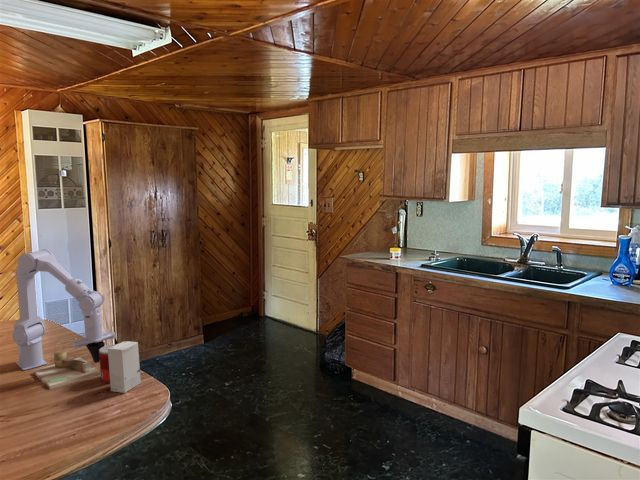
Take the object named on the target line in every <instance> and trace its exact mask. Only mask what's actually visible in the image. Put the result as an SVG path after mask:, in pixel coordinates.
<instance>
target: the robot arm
mask: <svg viewBox="0 0 640 480" xmlns="http://www.w3.org/2000/svg"><path fill="white" fill-rule="evenodd" d="M39 272H45V273H46V272H47V273H49V274H50V275H52V276H53V277H54V278H56V279H57V280H58V281H59V282H61V283H62V284H63V285H64V288H65V289H64V290H65V291H66V292H67V293H68V294H69V295H70V296H71V297H73V298H74V299H75V301H77V302H78V304H77V305H78V306H79V308H80V310H81V313H82V315H83V322H84V335H85V337H84V338H81V339H78V340H76V341H75V340H74V341H72V342H71V344H72V348H73V349H78V348H81V347H86V348H87V350H88V351H89V353H90V356H91V359H92V360H93V361H92V362H93V363H95V364H97V363H100V358H99V349H100V348H102V347H104V346H106V345H105V342H104V341H107V340H110V339H111V340H113V339H116V338H117V335H116V332H115V331H112V332H107V333H104V332H103V331H104V330H103V322H102V308H101V306H102V305H103V303H104V296H103V295H102V293H101V292H99V291H95V290H94V289H93V290H92V289H91V288H90V287H88V285H87V284H85V283H84V281H83V279H80V278H73V276H71V275H70V273H69V272H68V271H67V270H66V269H65V268H64V267H63V266H62V265H61V264H60V263H59V262H58V261H57V258H56V255H55V254H53V253H52V251H50V250H49V249H45V248H44V249H40V250H35V251H33V252H28V253H27V252H26V253H23V254H22V255H20V256H19V257H18V258H17V268H16V271H15V273H16V285H17V299H18V311H19V318H18V320H17V321H16V322H15V323H14V324H13V332H12V339H13V340H12V341H13V342H14V343H15V344H16V345H17V352H18V353H17V354H18V361H16V365H17V366H18V367H19V368H20V369H21V370H22V371H27V370H31V369H34V368H38V367H42V366H44V365H47V364H48V362H47V361H46V360H45V359H44V352H43V343H42V340H43V338H44V337H43V336H44V335H45V333H46V327H45V325H44V322H43V318H42V317H40V316H38V309H37V308H38V306H37V294H36V292H37V291H36V281H35V275H36V274H38V273H39Z"/></svg>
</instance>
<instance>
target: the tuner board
mask: <svg viewBox="0 0 640 480" xmlns="http://www.w3.org/2000/svg"><path fill="white" fill-rule="evenodd" d="M73 359H74V360H79V361H84V362H87V360H85V359H84V358H82V357H81V356H80V357H77V358H73ZM90 369H91V370H90V371H88V372H86V373H84V374H83V373H79V372H81V371H79V370H74V369H69V368H64V367H62V368H56V367H55V363H54V364H50V365H47V366H43V367H40V368H37V369H34V370H33V374H34V375H35V376H36V377H37V378H38V379H39V380H40V381H41V382H42V383H43V384H44V385H45V386H46V387H47V388H48V389H49V390H53V389H56V388H59V387H62V386H66V385H69V384H72V383H76V382H78V381H82V380H85V379H88V378H91V377H94V376H98V375H101V371H100V370H99V369H97V368H96V367H95V366H94V365H92V364H91V363H90ZM64 376H67V380H62V381H56V382H50V380H51V379H52V378H58V377H64Z"/></svg>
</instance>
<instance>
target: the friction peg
mask: <svg viewBox="0 0 640 480" xmlns="http://www.w3.org/2000/svg"><path fill="white" fill-rule="evenodd" d="M67 353H68V352H67V350H65V349H64V350H63V349H62V350H57V351H55V352H54V353H53V356H54V357H53V359H54V364H55V367H56V368H62V367H64V368H69V369H74V370H79V371H83V372H87V371H89V370H91V369H90V364H91V362H90V361H86V362H84V361H79V360H74V359H75V358H68V354H67Z"/></svg>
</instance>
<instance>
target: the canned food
mask: <svg viewBox="0 0 640 480" xmlns="http://www.w3.org/2000/svg"><path fill="white" fill-rule="evenodd" d="M116 344H117V343H116ZM116 344H108V345H107V344H106V345H104V347H102V348H100V349H99V358H100V361H99V367H100V377H101V378H100V379H101V381H102V382H104V383H109V384H110V372H109V359H108V348H111V347H113V346H115V345H116Z"/></svg>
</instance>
